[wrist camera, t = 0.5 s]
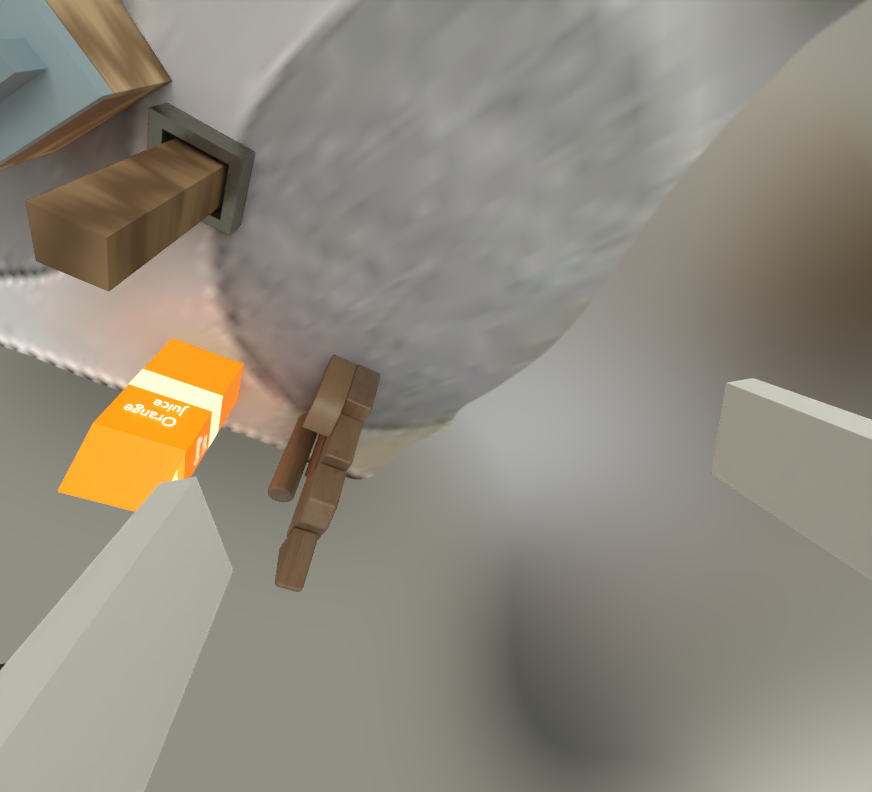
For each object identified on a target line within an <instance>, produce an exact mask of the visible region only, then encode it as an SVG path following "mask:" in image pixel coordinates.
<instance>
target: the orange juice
mask: <svg viewBox="0 0 872 792" xmlns="http://www.w3.org/2000/svg"><path fill="white" fill-rule="evenodd" d="M242 369H243V364H241V363H239V362H236V361H233V360H230V359H228V358H225V357H222V356H219V355H217V354H214V353H211V352H208V351H206V350H203V349H200V348H197V347H194V346H192V345H189V344H186V343H183V342H181V341H178V340H175V339H171V340H170V341H169V342H168V343H167V344H166V345H165V346H164V347H163V348H162V350H161V351H160V352H159V353H158V354H157V355H156V356H155V357H154V358H153V359H152V360H151V361H150V362H149V364H148V365H147V366H146V367H145V368H144V369H142V370H141V371H140V372H139V373H138V375H137V376H136V377H135V378H134V379H133V380H132V381H131V382H130V383H129V385H128V386H127V387H126V388H125V389H124V390H123V392H122V393H121V394H120V395H119V396H118V397H117V398H116V399H115V400H114V401H113V402H112V403H111V405H110V406H109V407H108V408H107V409H106V410H105V411H104V412H103V413H102V414H101V415H100V416H99V417H98V418H97V420H96V421H95V422H94V423H93V424H92V426H91V428H90V430H89V432H88V434H87V436H86V438H85V440H84V442H83V444H82V446H81V447H80V449H79V451H78V453H77V455H76V457H75V459H74V461H73V463H72V465H71V467H70V469H69V470H68V472H67V474H66V476H65V478H64V480H63V482H62V484H61V486H60V488H59V490H58V492H61V493H65V494H69V495H73V496H77V497H80V498H84V499H88V500H92V501H96V502H100V503H104V504H108V505H112V506H116V507H120V508H123V509H127V510H131V511H136V510H137V509H138V508H139V507H140V506H141V504H142V503H143V502H144V501H145V500H146V499H147V497H148V496H149V495H150V494H151V493H152V492H153V490H154V489H155V488H156V487H157V486H158V484H159V483H162V482H168V481H174V480H179V479H185V478H190V477H191V475H192V473H193V472H194V470H195V469H196V467H197V465H198V464H199V462H200V460H201V459H202V457H203V455H204V454H205V452H206V450H207V449H208V448H209V446H210V445H211V443H212V442H213V440H214V438H215V437H216V435H217V433H218V431H219V429H220V428H221V426H222V424H223V423H224V421H225V419H226V418H227V416H228V415H229V413H230V411H231V410H232V408H233V406H234V405H235V403H236V401H237V398H238V392H239V386H240V381H241V375H242Z"/></svg>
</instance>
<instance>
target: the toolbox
mask: <svg viewBox="0 0 872 792" xmlns="http://www.w3.org/2000/svg"><path fill="white" fill-rule="evenodd" d="M45 1H46V2H47V4H48V5H49V6H50V8H51V9H52V10H53V12H54V13H55V14H56V16H57V17H58V18H59V20H60V21H61V22H62V24H63V25H64V26H65V28H66V29H67V30H68V32H69V33H70V35H71V36H72V37H73V39H74V40H75V41H76V43H77V44H78V45H79V47H80V48H81V49H82V51H83V52H84V53H85V55H86V56H87V57H88V59H89V60H90V62H91V63H92V64H93V66H94V67H95V68H96V70H97V71H98V72H99V74H100V75H101V76H102V78H103V79H104V80H105V82H106V83H107V84H108V86H109V87H110V88H111V90H112V91H113V93H114V94H112V95H111V96H109V97H108V98H106V99H104V100H103V101H101V102H100V103H98V104H97V105H95V106H93V107H92V108H90V109H89V110H87V111H86V112H84V113H82V114H81V115H79V116H78V117H76V118H75V119H73V120H71V121H70V122H68V123H67V124H65V125H64V126H62V127H60V128H59V129H57V130H56V131H54V132H53V133H51V134H49V135H48V136H46V137H45V138H43V139H42V140H40V141H38V142H37V143H35V144H34V145H32V146H31V147H29V148H27V149H26V150H24V151H23V152H21V153H20V154H18V155H16V156H15V157H13V158H12V159H10V160H9V161H7V162H5V163H4V164H2V165H1V166H0V170H1V169H4V168H7V167H10V166H13V165H16V164H19V163H22V162H25V161H28V160H31V159H34V158H37V157H41V156H44V155H47V154H50V153H53V152H56V151H58V150H59V149H61V148H63V147H64V146H66V145H68V144H69V143H71V142H72V141H74V140H76V139H77V138H79V137H81V136H82V135H84V134H85V133H87V132H89V131H90V130H92V129H94V128H95V127H97V126H99V125H100V124H102V123H103V122H105V121H107V120H108V119H110V118H112V117H113V116H115V115H117V114H118V113H120V112H121V111H123V110H125V109H126V108H128V107H130V106H131V105H133V104H134V103H136V102H138V101H139V100H141V99H143V98H144V97H146V96H148V95H149V94H151V93H152V92H154V91H156V90H157V89H159V88H161V87H162V86H164V85H166V84H167V83H169V82H170V81H172V80H171V78H170V77H169V75H168V74H167V72H166V71H165V69H164V67H163V66H162V64H161V63H160V61H159V60H158V58H157V57H156V55H155V54H154V52H153V51H152V49H151V48H150V46H149V44H148V43H147V41H146V40H145V38H144V37H143V35H142V34H141V32H140V31H139V29H138V28H137V26H136V25H135V23H134V21H133V20H132V18H131V17H130V15H129V14H128V12H127V11H126V9H125V8H124V6H123V5H122V3H121V2H120V0H45Z"/></svg>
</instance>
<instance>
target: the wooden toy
mask: <svg viewBox="0 0 872 792" xmlns="http://www.w3.org/2000/svg"><path fill="white" fill-rule="evenodd" d="M379 379H380V375H379V374H377V373H375V372H373V371H371V370H369V369H367V368H364V367H362V366H360V365H358V366H356V365H354V364H352V363H350V362H348V361H346V360H343V359H341V358H339V357H337V356H335V355H333V357H332V359H331V361H330V363H329V365H328V366H327V368H326V370H325V373H324V375H323V378H322V380H321V382H320V385H319V387H318V389H317V392H316V394H315V397H314V399H313V402H312V404H311V406H310V409H309V411H308V414H303V415H301V416H300V417H299V419H298V421H297V423H296V426H295V428H294V430H293V433H292V435H291V437H290V440H289V442H288V444H287V447H286V449H285V451H284V454H283V456H282V458H281V461H280V463H279V465H278V468H277V470H276V472H275V475H274V477H273V479H272V482H271V484H270V486H269V489H268V495H269V496H270V497H271V498H272V499H274V500H276V501H279V502H289V501H291V500H292V499H293V498H294V495H295V492H296V490H297V487H298V484H299V482H300V479H301V476H302V474H303V471H304V468H305V465H306V463H307V460H308V458H309V455H310V452H311V449H312V447H313V444H314V441H315V439H316V436H317V433H319V437H318V440H317V442H316V445H315V448H314V451H313V453H312V456H311V459H310V462H309V465H308V467H307V470H306V473H305V476H306V477H307V478H306V483H305V485H304V488H303V490H302V493H301V496H300V499H299V502H298V504H297V507H296V510H295V513H294V516H293V518H292V521H291V524H290V527H289V530H288V532H287V539H286V540H285V542H284V543H283V544H282V546H281V547H280V549H279V556H278V563H277V570H276V578H275V584H276V586H277V587H281V588H285V589H288V590H292V591H296V592H298V591H301V590H302V588H303V586H304V583H305V580H306V576H307V573H308V570H309V566H310V563H311V560H312V556H313V553H314V549H315V546H316V543H317V540H318V539H319V538H320V537H321V535H322V534H324V532H325V531H326V530H327V529H328V527H329V524H330V522H331V520H332V518H333V515H334V513H335V511H336V509H337V505H338V502H339V498H340V494H341V491H342V487H343V484H344V480H345V476H346V471H347V470H348V468H349V467H350V466H351V464H352V462H353V458H354V454H355V451H356V447H357V443H358V439H359V436H360V432H361V428H362V423H363V422H364V420H365V419H366V417H367V416H368V414H369V413H370V411H371V410H372V406H373V402H374V399H375V395H376V391H377V387H378V383H379Z"/></svg>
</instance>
